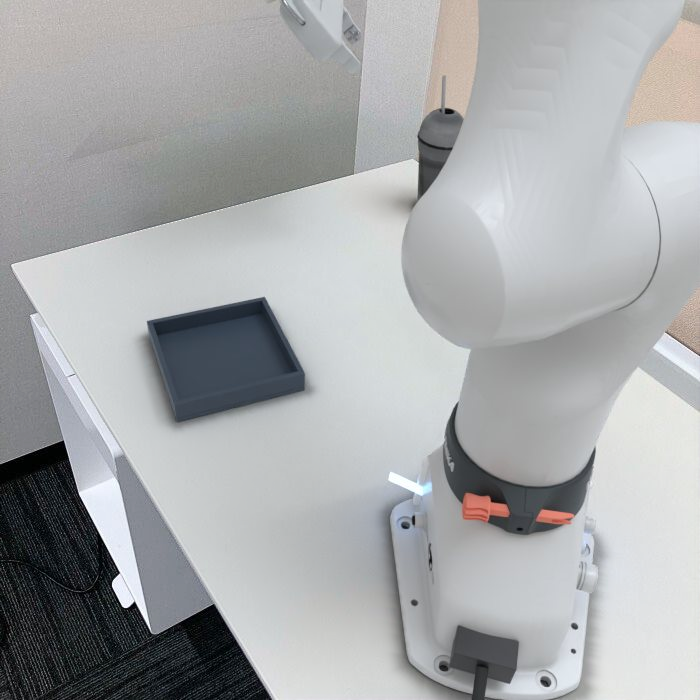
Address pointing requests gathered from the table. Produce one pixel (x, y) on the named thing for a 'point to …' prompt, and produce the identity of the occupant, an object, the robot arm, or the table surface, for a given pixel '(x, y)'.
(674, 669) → the table surface
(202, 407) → the tray
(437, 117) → the beverage cup
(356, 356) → the table surface
